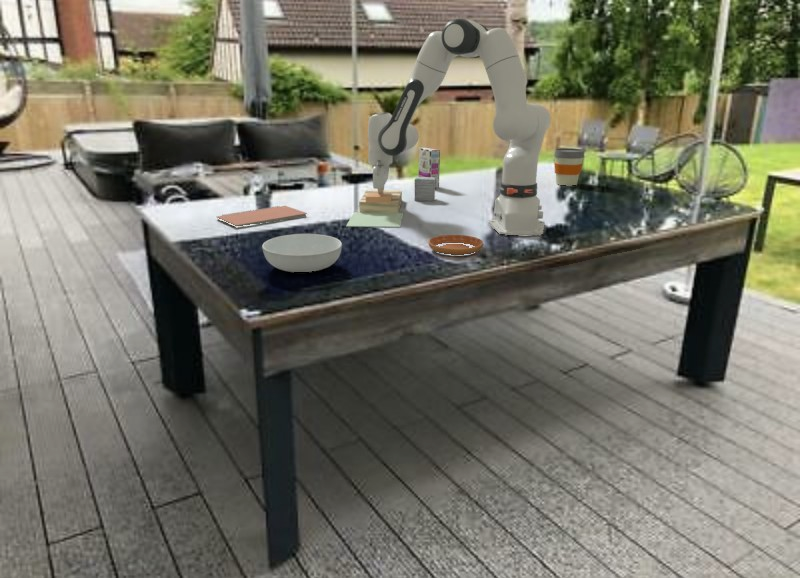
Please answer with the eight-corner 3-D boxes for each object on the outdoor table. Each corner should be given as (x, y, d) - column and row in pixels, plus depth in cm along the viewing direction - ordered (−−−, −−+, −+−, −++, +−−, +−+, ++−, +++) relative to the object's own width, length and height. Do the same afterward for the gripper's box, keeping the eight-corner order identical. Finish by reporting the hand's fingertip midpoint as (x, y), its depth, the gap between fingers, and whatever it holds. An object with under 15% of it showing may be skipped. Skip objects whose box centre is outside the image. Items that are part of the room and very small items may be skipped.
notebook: (284, 209, 237) (283, 204, 236) (307, 217, 224) (307, 212, 224) (215, 220, 221) (214, 215, 220) (236, 230, 208) (235, 224, 208)
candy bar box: (439, 188, 271) (440, 149, 266) (429, 189, 269) (430, 150, 264) (428, 184, 281) (428, 146, 275) (417, 185, 279) (418, 147, 273)
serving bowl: (319, 285, 157) (318, 258, 154) (248, 275, 164) (246, 249, 162) (355, 261, 175) (354, 237, 172) (290, 253, 182) (288, 230, 180)
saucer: (457, 240, 195) (458, 231, 194) (494, 252, 183) (494, 242, 182) (417, 249, 186) (417, 239, 185) (452, 262, 174) (453, 252, 173)
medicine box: (434, 198, 252) (435, 177, 249) (434, 201, 248) (434, 179, 245) (415, 198, 252) (415, 176, 249) (414, 200, 248) (414, 178, 245)
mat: (399, 227, 209) (399, 226, 209) (346, 226, 210) (346, 225, 210) (403, 213, 228) (403, 212, 228) (354, 212, 229) (354, 212, 229)
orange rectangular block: (390, 202, 227) (390, 197, 226) (365, 202, 227) (365, 196, 227) (392, 198, 232) (391, 193, 232) (367, 198, 233) (367, 193, 232)
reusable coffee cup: (546, 182, 284) (549, 148, 278) (571, 181, 287) (574, 147, 282) (561, 187, 272) (564, 152, 267) (586, 186, 276) (590, 151, 271)
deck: (397, 213, 228) (397, 202, 227) (359, 213, 229) (359, 202, 228) (401, 200, 249) (401, 190, 247) (366, 200, 250) (366, 190, 248)
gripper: (386, 163, 219) (386, 202, 224) (391, 154, 238) (391, 191, 243) (368, 163, 220) (369, 202, 224) (374, 154, 239) (375, 190, 243)
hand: (381, 196), depth 234 cm, fingers closed
